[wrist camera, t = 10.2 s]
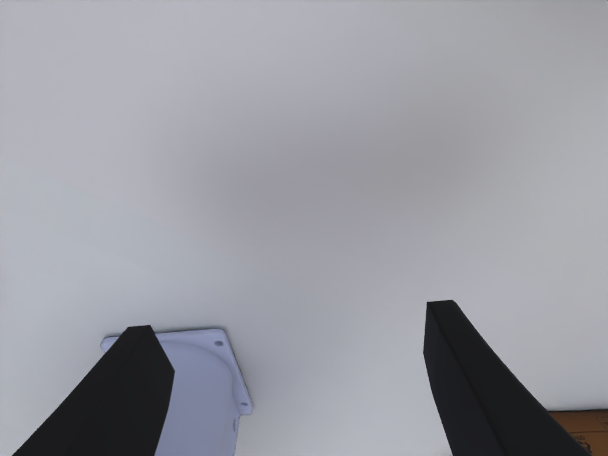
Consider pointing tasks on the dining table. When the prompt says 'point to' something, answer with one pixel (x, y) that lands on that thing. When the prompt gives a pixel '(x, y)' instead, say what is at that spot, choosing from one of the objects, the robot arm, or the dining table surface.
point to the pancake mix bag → (587, 429)
